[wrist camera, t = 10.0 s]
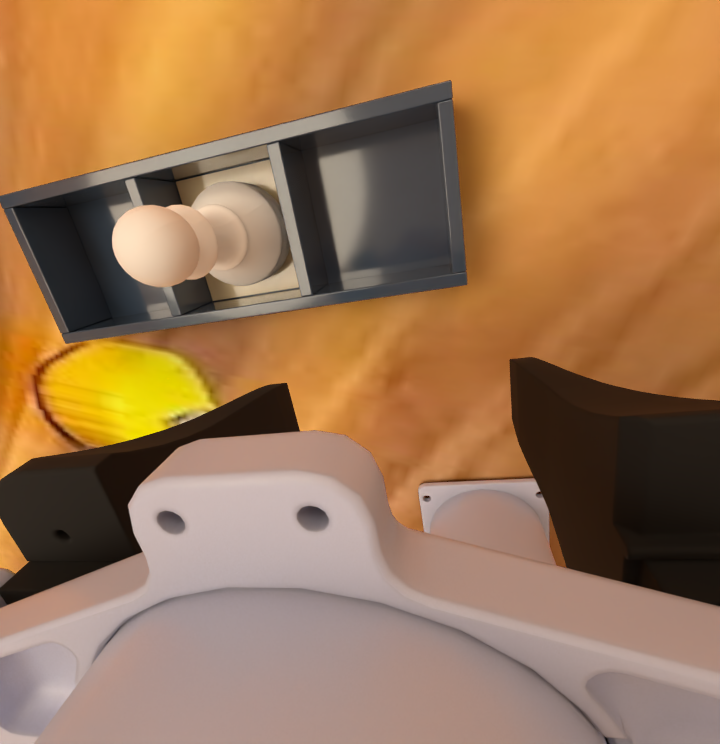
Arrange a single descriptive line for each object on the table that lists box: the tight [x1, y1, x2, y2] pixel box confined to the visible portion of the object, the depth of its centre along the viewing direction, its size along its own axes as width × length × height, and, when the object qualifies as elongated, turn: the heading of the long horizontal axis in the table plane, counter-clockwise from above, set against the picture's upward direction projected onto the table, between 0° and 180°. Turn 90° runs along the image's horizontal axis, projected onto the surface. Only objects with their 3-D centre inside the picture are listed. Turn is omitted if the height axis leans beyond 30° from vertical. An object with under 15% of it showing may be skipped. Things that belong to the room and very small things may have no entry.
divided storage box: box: [0, 80, 468, 344], centre depth 20 cm, size 8×22×4 cm, turn 100°
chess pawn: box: [112, 181, 290, 287], centre depth 17 cm, size 5×5×9 cm
